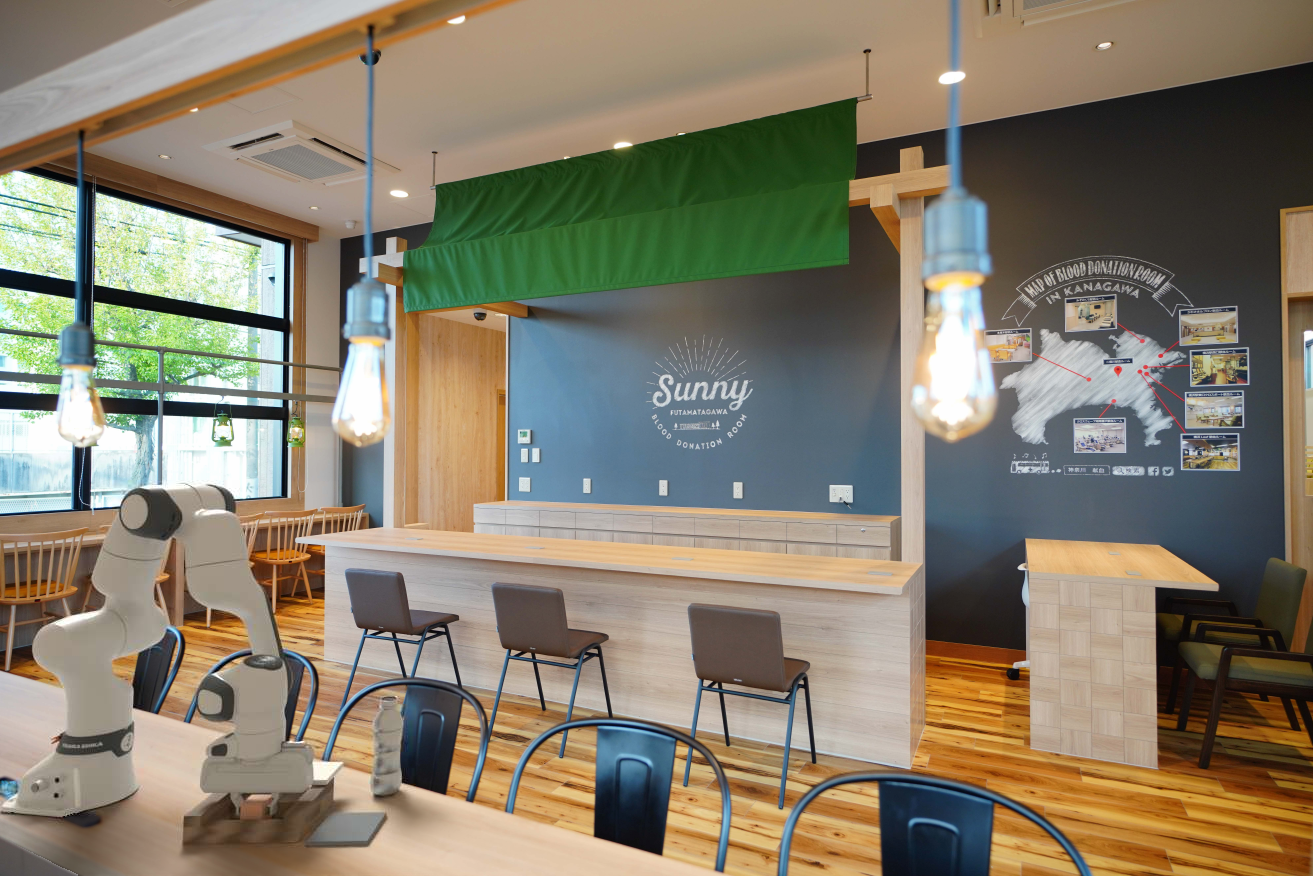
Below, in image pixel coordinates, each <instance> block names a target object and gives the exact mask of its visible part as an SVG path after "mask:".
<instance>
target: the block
mask: <svg viewBox="0 0 1313 876" xmlns="http://www.w3.org/2000/svg"><path fill="white" fill-rule="evenodd" d="M270 802H272V798H271V795H251V796H250V797H249V798H248V799H246V800H245V801H244V802H243V803H242V804H241V814H240V818H239V820H266V819H273V818H272V815H265V812H266V811H265V806H266V805H268V803H270Z"/></svg>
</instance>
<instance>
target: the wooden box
mask: <svg viewBox="0 0 1313 876" xmlns="http://www.w3.org/2000/svg"><path fill="white" fill-rule="evenodd" d="M334 789H335V777H333V778H332V779H331V781H330V782H329V783H328V784H327V785H311V786H310V787H309V788H308V789H307V790H306V791H304V792H303V793H283V795H282V796H281V798H280V800H279V801H278V802H277V811H276V813H275V814H274V815H272V818H271V819H266V820H240V815H236V806H235V805H234V803H233V801H232V800H231V798H230V797H231V793H210V795H208V796H207V797H205V799H204V800H202V801H200V802H199V803H198V804H197V805H196V806H195V807H193V808H191V810H190V811H188V812H187V813H186V814H185V815H183V826H182V827H183V828H182V844H183V845H186V844H187V845H189V844H190V845H192V844H248V843H249V844H253V843H254V844H255V843H256V844H257V843H261V844H262V843H266V844H267V843H299V842H300V841H301V840H302V839H304V837H305V836H306V835H307V833H308V832H309V831H310V830H311V828H313V826H314V825H315V824H316V823H317V822H318V821H319V819H320V818H321V817H322V816H323V815H324V814H325V812H327V810H328V809H329V808H330V806H331V805H332V804H333V803H334V796H335V795H334V791H335V790H334ZM251 795H271V793H242V794H241V796H242V798H243V800H244V801H245V800H246V799H248V798H249V797H250V796H251ZM273 800H274V798H272V801H273ZM274 818H275V819H274ZM276 818H277V819H276ZM280 818H281V819H280Z"/></svg>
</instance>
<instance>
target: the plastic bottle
mask: <svg viewBox="0 0 1313 876" xmlns="http://www.w3.org/2000/svg"><path fill="white" fill-rule="evenodd" d="M378 706H379V708H378V709H379V711H378V712H377V714H376V716H375V717H374V719H373V721H372V724H371V725H372V730H371V731H372V736H373V754H374V755H373V763H372V771H371V775H370V780H369V785H370V790H371V792H372V794H374V795H376V796H378V797H379V796H381V797H383V796H390V795H393V794H395V793H397V792H398V791H399V790H400V788H401V786H402V780H403V776H402V768H401V755H400V751H401V742H402V741H401V740H402V734H403V728H404V719H403V718H404V717H403V716H402V714H401V713H400V712H399V710H398V709H397V708H398V706H399V704H398V697H397V696H395V695H386V696H383V697H381V698H380V699H379V705H378ZM376 777H377V778H376Z"/></svg>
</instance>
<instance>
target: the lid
mask: <svg viewBox="0 0 1313 876" xmlns="http://www.w3.org/2000/svg"><path fill="white" fill-rule="evenodd" d="M344 764H345V763H344V761H313V770H314V780H313V783H312V784H311V786H312V785H327V784H328V783H329V782H330V781H331V779H332V778H335V776H336V775H338V773H339V772H340V771H341V770H342V769H343V767H344V766H345V765H344Z"/></svg>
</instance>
